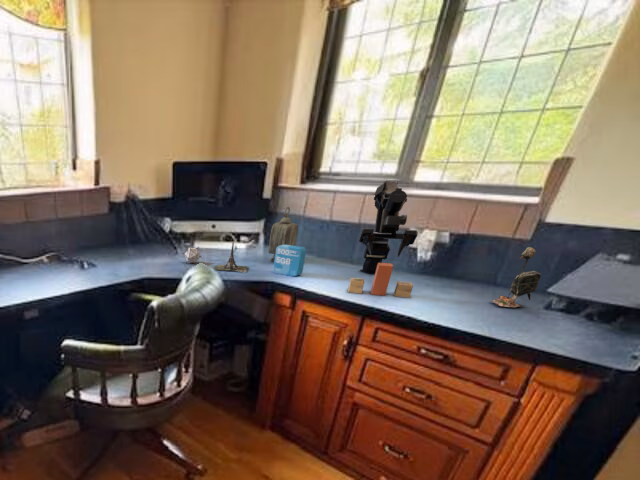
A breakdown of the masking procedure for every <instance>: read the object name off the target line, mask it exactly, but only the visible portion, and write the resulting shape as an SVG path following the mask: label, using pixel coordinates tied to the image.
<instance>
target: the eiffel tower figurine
mask: <svg viewBox="0 0 640 480" xmlns="http://www.w3.org/2000/svg"><path fill="white" fill-rule="evenodd" d="M234 245H235V241H232V243H231V251H230V254H229V258H228V260H227V261H226V263H225V264H216V266H214V268H213V269H214V270H219V271H227V272H230V271H233V272H238V273H239V272H240V273H244V274H245V273H247V271H248V268H249V266H247V265H237V263H236V261H235V256H234V249H235V248H234Z"/></svg>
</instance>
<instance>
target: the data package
mask: <svg viewBox="0 0 640 480" xmlns="http://www.w3.org/2000/svg"><path fill="white" fill-rule="evenodd" d="M306 254H307V249H306V247H304V246H300V245H299V246H298V245H295V246H292V245H281V246H278V247H277V248H276V254H275V257H274V260H273V268H272V269H273V270H272V271H273V272H274V273H275V274H278V275H285V276H289V277H297V276H300V275H302V274H303V271H304V266H305V260H306V256H307V255H306Z"/></svg>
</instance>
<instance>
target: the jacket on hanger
mask: <svg viewBox="0 0 640 480" xmlns="http://www.w3.org/2000/svg"><path fill="white" fill-rule="evenodd" d="M290 208H291V207H289V206H286V208H285V209H284V211H283V217H282V218H281V219H280V221H277V222H275V223H273V225H272V226H271V230H270V234H269V235H270V236H269V242H268V253H269V254H271V255H273V256H272V258H270V259H269V262H274V259H275V254H276V248H277V247H278V246H281V245H292V246H297V245H296V244H297V238H298V233H299V232H298V231H299V225H298V224H296V223H295V222H292V220H291V218H290V217H288V216H289V215H290V211H291V209H290ZM287 210H288V212H287ZM286 212H287V213H286Z"/></svg>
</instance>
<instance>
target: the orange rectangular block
mask: <svg viewBox="0 0 640 480" xmlns="http://www.w3.org/2000/svg"><path fill="white" fill-rule="evenodd" d="M393 269H394V265H393V263H389V262H382V263H378V265H377V269H376V272H375V274H374V276H373V281H372V284H371V287H370V294H371V295H373V296H383V297H384V296H386V294H387V291H388V288H389V283H390V281H391V276H392V273H393Z"/></svg>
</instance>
